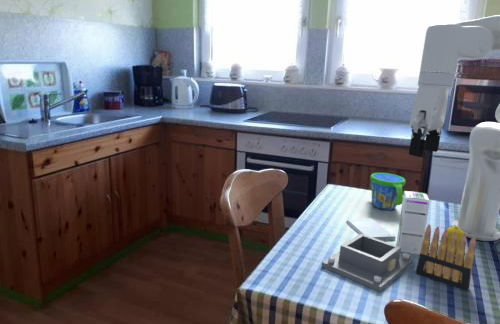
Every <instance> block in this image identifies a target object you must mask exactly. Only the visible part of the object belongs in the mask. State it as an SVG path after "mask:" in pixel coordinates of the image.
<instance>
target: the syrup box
mask: <svg viewBox="0 0 500 324" xmlns="http://www.w3.org/2000/svg"><path fill="white" fill-rule="evenodd" d="M430 202H431V201H430V199H429V196H428V194H427V193H425V192H420V191H413V190H412V191H410V190H409V191H408V190H404V191H403V201H402V204H401V210H400V215H399V216H400V217H399V223H398V230H397V236H396V246H399V247H401V252H400V253H406V254H409V255H410V254H412V255H417V256H420V252H421V246H422V242H423V239H424V236H425V231H426V228H427V221H428V215H429V208H430Z"/></svg>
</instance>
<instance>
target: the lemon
mask: <svg viewBox="0 0 500 324" xmlns="http://www.w3.org/2000/svg"><path fill="white" fill-rule="evenodd" d="M446 229H447V230H448V241H447V250H448V247H449V244H450V241H451V237H452V235H453V233H454V232H455V231H456V233H457V242H456V253H457V250H458V247H459V244H460V240H461V238H462V236H463V234H464V232H463V231H462V230H461V229H459V228H458V227H457V226H454V227H451V226H449V227H447V228H446ZM443 233H444V231H443V232H442V234H441V237H440V241H441V240H442V236H443ZM456 253H455V256H456ZM446 254H447V252H446Z"/></svg>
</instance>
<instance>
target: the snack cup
mask: <svg viewBox="0 0 500 324" xmlns="http://www.w3.org/2000/svg"><path fill="white" fill-rule="evenodd" d="M405 184H406V179H405V178H404V177H403V176H400V175H397V174H395V173H388V172H374V173H372V174H371V175H370V184H369V189H370V190H371V205H372V206H373V207H375V208H377V209H378V210H384V211H392V210H394V209H396V207H397V206H400V205H401V206H402V201H403V195H404V191H403V187H404V186H405Z"/></svg>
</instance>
